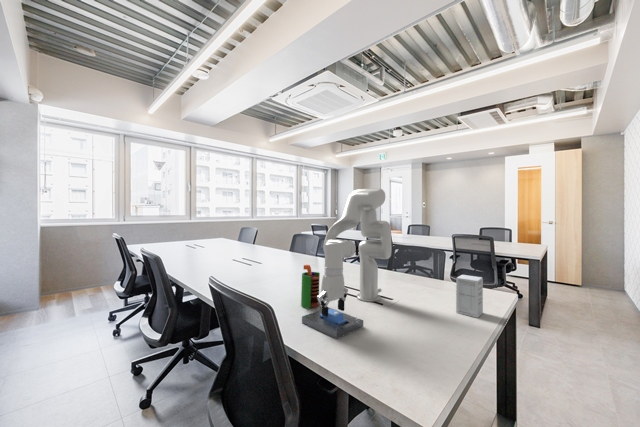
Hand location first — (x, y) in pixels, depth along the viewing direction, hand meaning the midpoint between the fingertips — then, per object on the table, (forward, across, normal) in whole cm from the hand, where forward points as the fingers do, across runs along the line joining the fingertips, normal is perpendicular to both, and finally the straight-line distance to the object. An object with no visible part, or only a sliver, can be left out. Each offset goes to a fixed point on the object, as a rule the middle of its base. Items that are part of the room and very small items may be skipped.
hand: (333, 312), depth 114 cm
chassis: (+5, 0, 0) cm, 5 cm away
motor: (+5, -9, -24) cm, 27 cm away
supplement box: (+5, -58, +34) cm, 67 cm away
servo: (+5, 0, 0) cm, 5 cm away
